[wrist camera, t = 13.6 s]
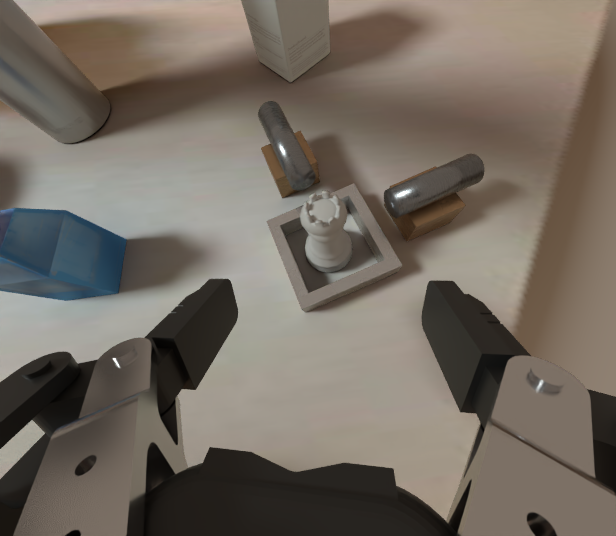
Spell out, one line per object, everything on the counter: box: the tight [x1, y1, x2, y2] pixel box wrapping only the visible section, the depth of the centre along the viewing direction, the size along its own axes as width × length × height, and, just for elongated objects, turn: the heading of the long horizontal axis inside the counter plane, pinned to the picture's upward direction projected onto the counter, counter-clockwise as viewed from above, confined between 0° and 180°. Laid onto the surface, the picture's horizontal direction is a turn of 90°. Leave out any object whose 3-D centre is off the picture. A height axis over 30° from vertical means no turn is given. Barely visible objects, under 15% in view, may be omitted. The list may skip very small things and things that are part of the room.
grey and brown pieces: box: [258, 101, 484, 312], centre depth 22 cm, size 19×17×5 cm
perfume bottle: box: [0, 208, 126, 301], centre depth 20 cm, size 6×6×12 cm
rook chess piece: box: [300, 190, 353, 272], centre depth 19 cm, size 4×4×8 cm
